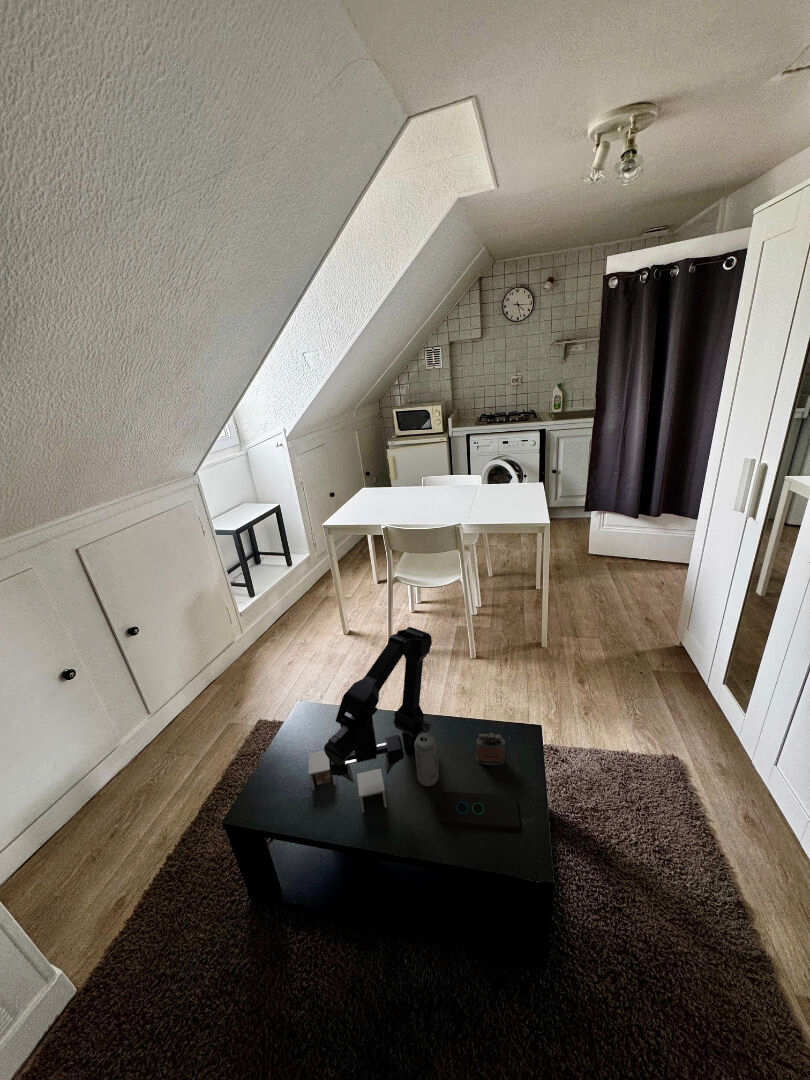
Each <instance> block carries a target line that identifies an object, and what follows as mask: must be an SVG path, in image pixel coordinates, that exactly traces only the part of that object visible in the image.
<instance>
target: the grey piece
mask: <svg viewBox="0 0 810 1080" xmlns="http://www.w3.org/2000/svg"><path fill="white" fill-rule="evenodd" d="M326 771H330V766H329V758H328V757H327V755H326V753H325V751H324V750H320V751H316V752H312V753H309V754H308V776H309V781H310V785H311V789H312V791H315V786H316V785H315V782H316V778H315V774H318V773H322V772H326ZM336 777H337V775H332V774H331V779H332V783H333V785H334V786H337V781H336V780H337V778H336Z"/></svg>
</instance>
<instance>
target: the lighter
mask: <svg viewBox="0 0 810 1080" xmlns="http://www.w3.org/2000/svg"><path fill="white" fill-rule="evenodd" d="M475 742H476V743H475V744H476V763H478V764H480V765H485V766H500V765H504V764H505V763H506V762H505V761H506V758H505V747H506V741H505V738H503V737H502V736H501V734H499V733H498V734H495V732H489V733H479V734H478V737H477V738H476V741H475Z"/></svg>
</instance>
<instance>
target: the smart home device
mask: <svg viewBox="0 0 810 1080" xmlns="http://www.w3.org/2000/svg"><path fill="white" fill-rule="evenodd" d="M518 807H519V806H518V799H517V797H516V796H515V795H510V794H495V793H492V794H491V793H480V792H479V793H476V792H475V793H474V792H461V791H460V792H459V791H444V790H443V791H440V794H439V814H438V821H439V823H440V824H442V825H449V826H450V825H452V826H453V825H454V826H465V827H466V826H467V827H468V826H469V827H480V828H492V829H504V830H506V829H507V830H519V829H520V827H521V825H520V824H521V823H520V815H519V808H518Z"/></svg>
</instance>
